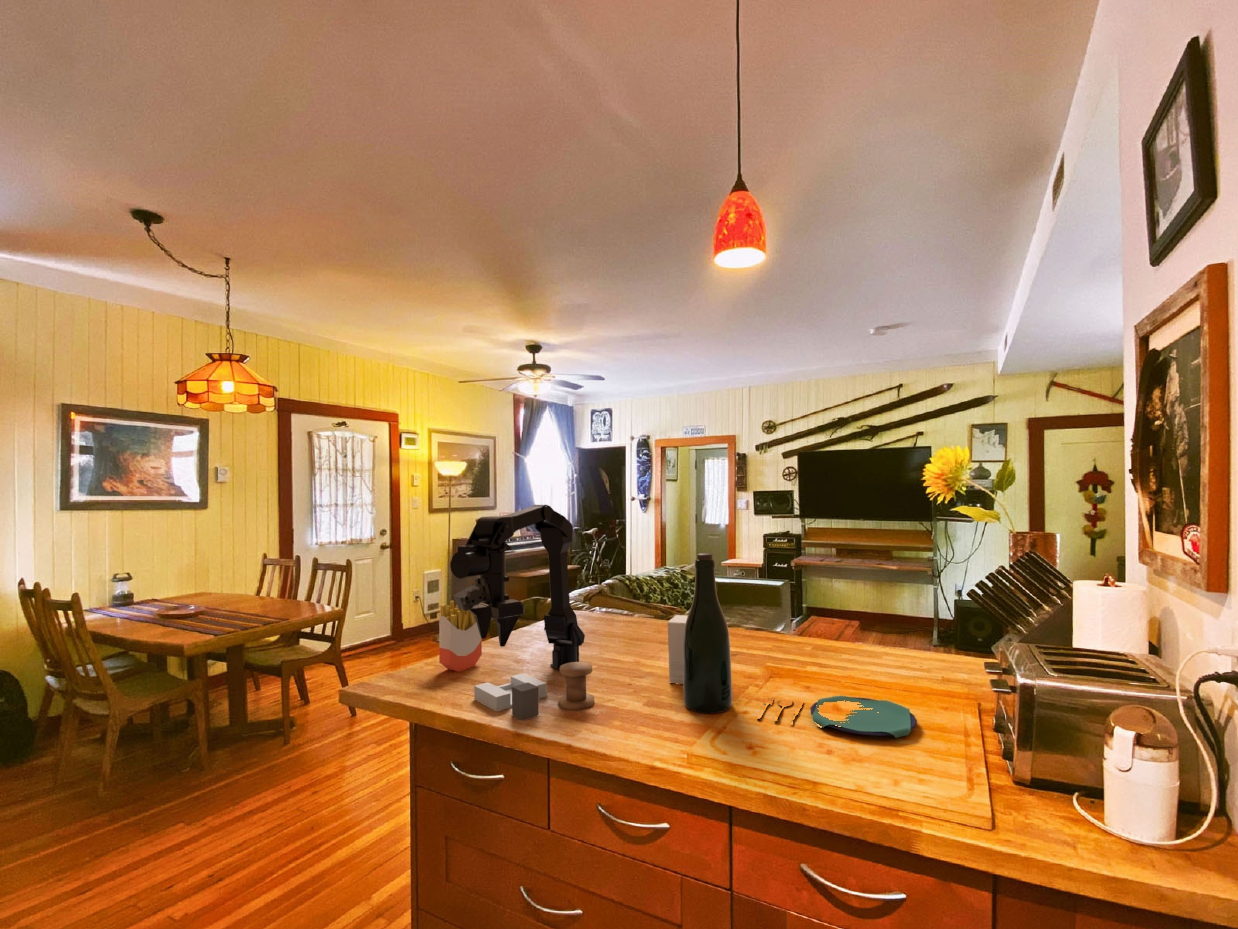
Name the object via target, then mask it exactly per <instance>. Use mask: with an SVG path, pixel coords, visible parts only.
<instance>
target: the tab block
mask: <svg viewBox="0 0 1238 929" xmlns="http://www.w3.org/2000/svg"><path fill="white" fill-rule="evenodd" d="M539 714H540V713H539V699H538V687H537V686H535V685H533V684H531V683H528V682H527V683H524V684H520V685H516V686H513V687H512V707H511V716H512V715H513V716H512V717H515V718H516V719H518V720H519V721H521V720H522V721H521V722H523V721H526V719H527V720H529V719H532V718H536V717H538V716H537V715H539ZM535 716H536V717H535Z"/></svg>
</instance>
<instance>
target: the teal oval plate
mask: <svg viewBox="0 0 1238 929" xmlns="http://www.w3.org/2000/svg"><path fill="white" fill-rule="evenodd" d="M844 700H845V702H846V701H850V702H859V703H861V704H857V705H863V706H864V707H863V706H862V707H859V708H873V709H872V710H871V709H870V710H866V709H865V710H864V709H863V710H854V711H853V710H852V712H857V713H850V714H846V715H852V716H848V717H846V718H845V719H849V720H848V721H847V720H846V721H833V720H829V719H828V718H826V717H823V716H821V715H820V714H819V713H818V712H819V710H818V709H817V708H819V705H823V703H824V702H837V701H844ZM816 705H817V706H816ZM850 712H851V711H850ZM877 712H879V713H877ZM810 715H811V716H812V717H811V718H812V722H813V721H814V722H816V723H817V724H819V725H820V726H822V727H823V728H824V727H826V726H827V727H828V728H829V727H830V728H833V729H835V730H838V731H841V732H845V733H850V734H856V735H860V736H861V735H864V736H875V737H879V736H880V737H881V736H893V737H894V738H896V739H897V738H899V737H900V738H901V737H906V736H909V734H910V733H911V731H912V730H914V729H915V727H916V725H917V723H918V719H917V718H916V716H915V715H914V714H913V713H912V712H911V711H910V709H909V708H908V707H905V706H903V705H902V704H898V703H895V702H893V701H890V700H885V699H884V700H882V699H881V700H880V699H872V698H868V697H856V696H846V695H836V696H829V697H825V698H819V699H817V701H816V702H814V703H813V704H812V705H811V706H810ZM853 715H854V716H853ZM814 722H813V723H814ZM840 722H842V723H840ZM843 722H845V723H843ZM848 722H849V723H848ZM835 725H837V726H835ZM838 726H841V727H838Z"/></svg>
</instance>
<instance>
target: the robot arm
mask: <svg viewBox="0 0 1238 929" xmlns="http://www.w3.org/2000/svg"><path fill="white" fill-rule="evenodd" d="M530 526H533V528H534V529H535V530H536V531H537V532H538V534H539V535H540V540H541V542H540V543H541V544H542V546H543V548H544V549H545V551H546V552H547V556H548V557H547V559H548V574H549V575H548V576H549V591H550V609H549V610H548V613H547V614H545V615H544V616H543V622H544V628H543V631H545V635H546V638H547V641H548V644H553V645H552V648H553V650H552V651H551V654H552V655H551V656H552V657H551V660H552V661H551V663H550V667H552V668H553V669H557V670H559V671H560V666H561V665H563V664H566V663H570V662H580V646H583V644H584V643H585V638H586V634H585V633H584V632H583V630H582V629H581V628H580V626H579V624H578V619H577V617H578V616H577V614H576V613H575V611H574V609H573V608H572V606H571V603H570V602H571V601H570V587H569V584H570V583H569V567H568V566H569V565H568V550H569V549H570V547H571V545H572V543H573V533H574V528H573V527H574V526H573V524H572V523H571V522H570V520H569V519H567V518H566V516H564V515H562V514H561V513H559V512H558V511H555V510H554V508H552V507H551V506H550V505H548V504H533V505H530V506H529V507H526V508H523V509H520V510H516V511H514V512H511V513H509V514H506V515H492V516H491V515H490V516H481V517H479V518H477V520H476V524H475V526H474V527H473V529H472V531H471V532H470V533H471V534H470V535H469V537H468V539H467V541H466V543H465V545H458V546H457V552H455V553H454V554H453V556H452V558H451V561H450V563H449V565H450V570H451V573H452V574H453V576H454V577H455V578H457V579H460V580H461V579H465V578H466V579H467V578H471V577H475V578H474V584H473V585H471V586H468V587H466V588H464V589H462V590H460V591H459V592H456V593H455V594H453V598H454V602H455V603H456V605H457V607H458V609H463V611H467V610H468V611H470V612H471V613H472V614H473V615H474V617H475V620H476V623H477V626H478V630H479V633H480V636H481V639H482V640H483V639H484V640H485V639H486V638H487V636H488V632H489V629H490V624H491V620H493V621H494V622H495V623H496V626H497V636H498V642H499V646H500V647H501V648H503V647H506V645H507V643H508V640H509V638H510V636H511V634H512V632H513V630H514V628H515V626H516V624H517V621H518V620H519V619H520V618H522V615H525V604H524V603H523V602H522V601H521V600H516V599H515V598H514V599H513V598H511V599H510V594H507V593H506V582H510V576H506V552H509V551H512V547H511V546H510V545H509V544H508V543H507V541H508V540H510V539H511V538H512V537H514V535H515V533H516V532H517V531H519V530H523V529H525V528H528V527H530Z"/></svg>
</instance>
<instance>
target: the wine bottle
mask: <svg viewBox="0 0 1238 929" xmlns="http://www.w3.org/2000/svg"><path fill="white" fill-rule="evenodd" d="M696 558H697V559H695V560H694V561H695V562H694V570H695V571H694V572H695V581H694V594H693V600H692V603H691V606H690V610H689V611H688V614H687V616H688V617H687V620H686V623H685V629H684V644H683V703H684V705H685V706H686V707H687V708H688V709H690V710H691V711H694V712H697V713H703V714H719V713H723V712H726V711H728V710H729V709H730V708H731V707H732V705H733V687H732V686H733V684H732V682H733V681H732V680H733V679H732V662H731V660H732V658H731V657H732V656H731V642H730V641H731V640H730V630H729V627H728V626H729V625H728V623H727V620H726V617H725V615H724V613H723V609H722V608H721V607H722V606H721V604H720V602H719V598H718V595H717V594H718V593H717V587H716V585H717V584H716V573H715V571H716V570H715V567H716V562H715V559H713V554H712V553H707V552H704V553H703V552H702V553H697V555H696ZM730 706H731V707H730ZM729 707H730V708H729ZM728 708H729V709H728ZM727 709H728V710H727Z"/></svg>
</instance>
